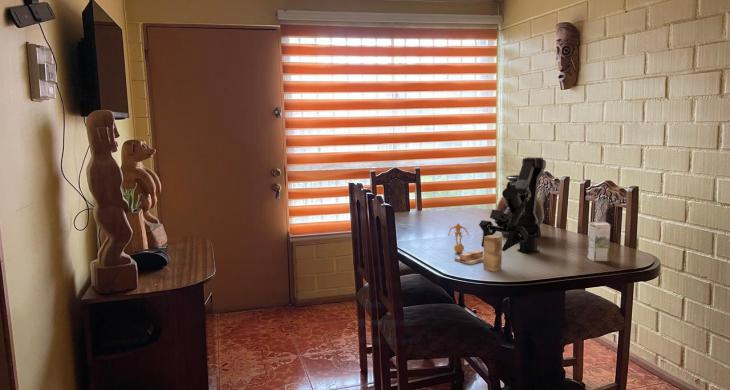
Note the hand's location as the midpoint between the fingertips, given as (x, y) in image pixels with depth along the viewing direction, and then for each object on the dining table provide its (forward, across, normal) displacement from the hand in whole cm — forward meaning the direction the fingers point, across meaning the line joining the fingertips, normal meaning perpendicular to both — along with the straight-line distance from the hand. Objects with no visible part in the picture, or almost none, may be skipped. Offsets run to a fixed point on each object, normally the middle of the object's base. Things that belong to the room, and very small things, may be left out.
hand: (492, 248), depth 195 cm
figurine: (-2, -26, +13) cm, 29 cm away
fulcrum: (+2, -13, +9) cm, 16 cm away
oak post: (+5, 0, +6) cm, 8 cm away
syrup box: (-23, +18, +34) cm, 45 cm away
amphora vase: (-34, -29, +45) cm, 63 cm away
